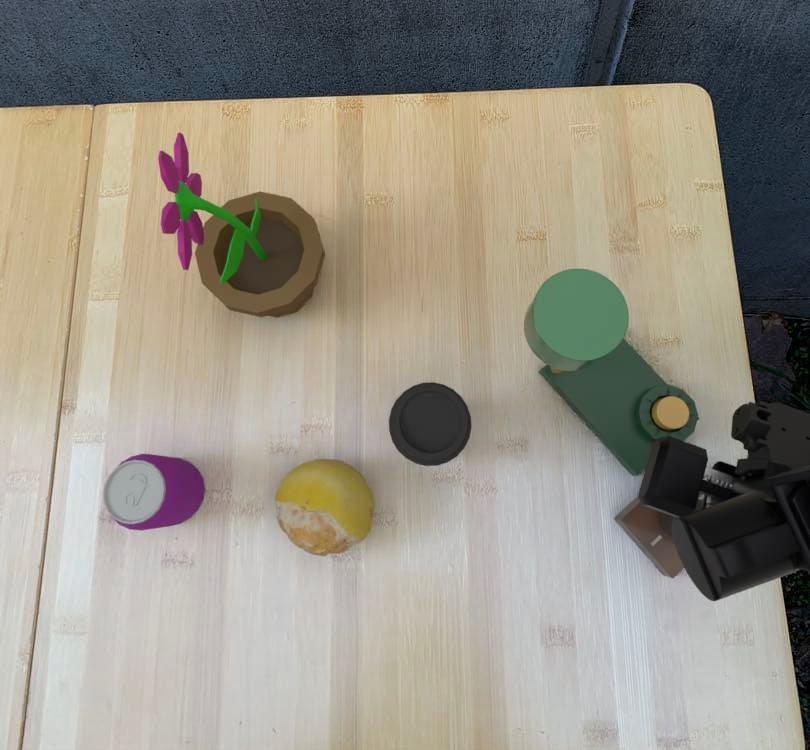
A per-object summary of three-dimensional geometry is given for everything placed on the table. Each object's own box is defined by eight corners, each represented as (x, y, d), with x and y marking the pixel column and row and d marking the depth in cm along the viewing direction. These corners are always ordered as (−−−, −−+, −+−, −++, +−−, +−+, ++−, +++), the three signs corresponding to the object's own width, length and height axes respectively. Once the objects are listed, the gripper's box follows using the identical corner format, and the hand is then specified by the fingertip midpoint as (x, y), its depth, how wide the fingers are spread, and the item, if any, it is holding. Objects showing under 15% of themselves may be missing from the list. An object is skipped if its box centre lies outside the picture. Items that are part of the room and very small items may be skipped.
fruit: (287, 459, 80) (270, 455, 71) (378, 462, 80) (373, 458, 70) (280, 550, 78) (261, 558, 68) (374, 553, 77) (368, 563, 68)
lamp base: (695, 420, 81) (709, 417, 77) (633, 477, 79) (644, 477, 75) (599, 319, 84) (608, 310, 80) (538, 372, 82) (544, 366, 78)
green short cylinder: (630, 332, 61) (649, 319, 57) (566, 389, 60) (579, 380, 55) (569, 268, 63) (582, 249, 58) (505, 322, 62) (512, 308, 57)
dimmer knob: (707, 520, 75) (727, 523, 70) (679, 548, 74) (697, 551, 70) (678, 489, 76) (696, 489, 71) (650, 515, 75) (666, 517, 70)
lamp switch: (690, 415, 77) (696, 414, 75) (667, 436, 77) (673, 435, 75) (667, 391, 78) (672, 389, 76) (644, 412, 77) (649, 410, 76)
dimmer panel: (727, 518, 78) (740, 519, 75) (665, 577, 76) (675, 581, 73) (673, 459, 79) (683, 458, 76) (611, 516, 78) (619, 517, 75)
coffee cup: (449, 480, 79) (456, 478, 65) (382, 454, 80) (375, 447, 66) (472, 412, 81) (484, 396, 67) (407, 388, 82) (405, 367, 68)
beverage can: (195, 532, 78) (156, 540, 67) (132, 516, 79) (83, 520, 67) (215, 466, 80) (181, 462, 69) (154, 450, 81) (110, 444, 69)
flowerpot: (222, 227, 88) (125, 96, 59) (333, 223, 88) (291, 90, 58) (218, 335, 84) (113, 253, 55) (334, 331, 84) (290, 247, 55)
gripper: (949, 451, 51) (827, 460, 67) (707, 366, 53) (642, 393, 68) (923, 598, 49) (803, 573, 64) (670, 504, 51) (611, 501, 66)
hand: (713, 505), depth 66 cm, fingers closed
